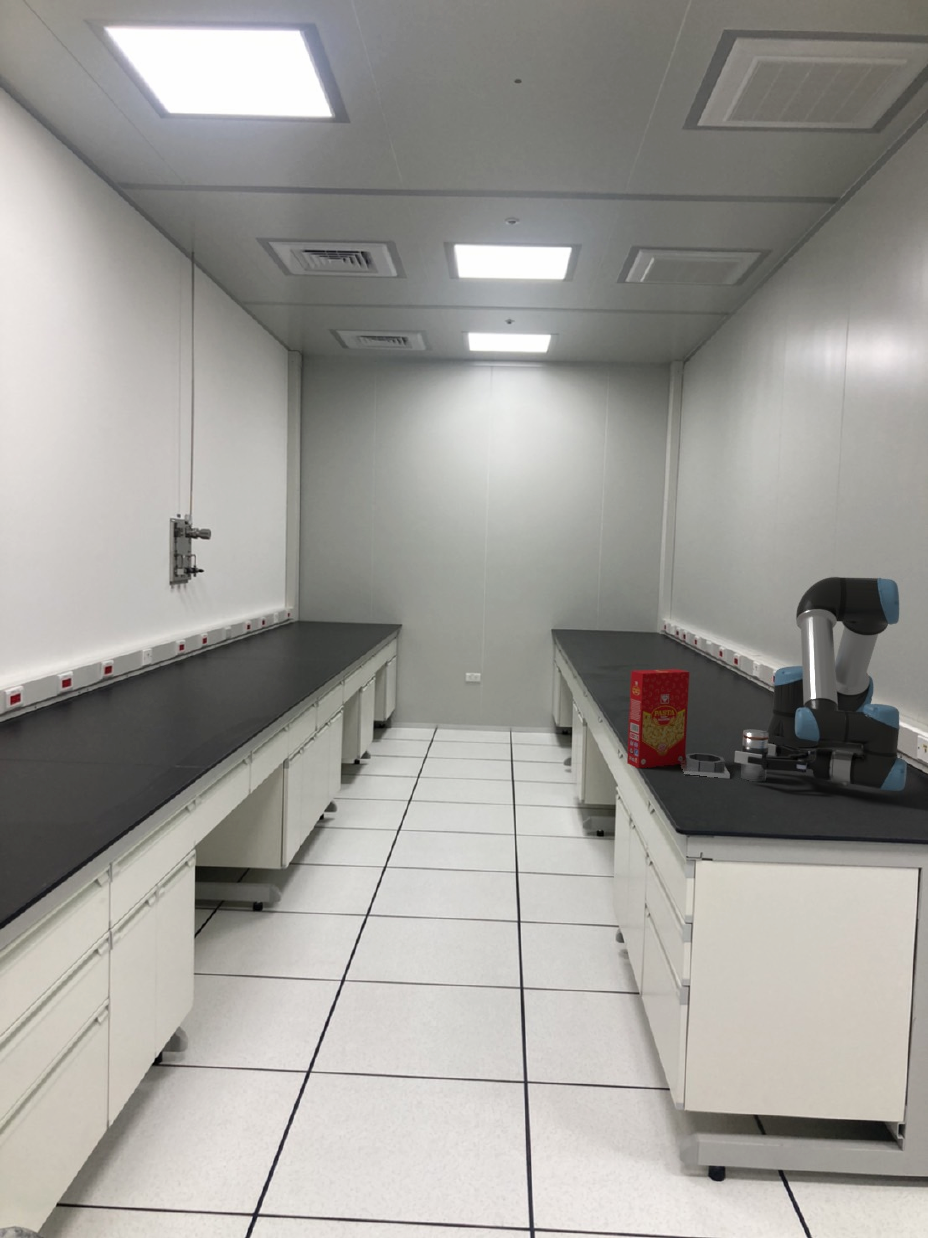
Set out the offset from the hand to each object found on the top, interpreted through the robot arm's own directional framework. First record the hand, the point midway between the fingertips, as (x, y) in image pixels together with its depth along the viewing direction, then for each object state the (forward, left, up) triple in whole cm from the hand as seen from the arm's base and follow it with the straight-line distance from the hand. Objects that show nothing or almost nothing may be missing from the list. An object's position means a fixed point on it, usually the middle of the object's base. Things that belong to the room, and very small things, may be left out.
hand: (742, 751), depth 207 cm
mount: (+9, -3, -6) cm, 11 cm away
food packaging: (+21, -8, -7) cm, 23 cm away
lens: (-3, +1, -7) cm, 7 cm away
